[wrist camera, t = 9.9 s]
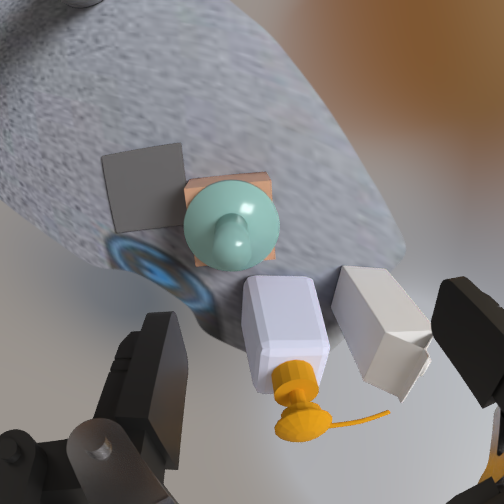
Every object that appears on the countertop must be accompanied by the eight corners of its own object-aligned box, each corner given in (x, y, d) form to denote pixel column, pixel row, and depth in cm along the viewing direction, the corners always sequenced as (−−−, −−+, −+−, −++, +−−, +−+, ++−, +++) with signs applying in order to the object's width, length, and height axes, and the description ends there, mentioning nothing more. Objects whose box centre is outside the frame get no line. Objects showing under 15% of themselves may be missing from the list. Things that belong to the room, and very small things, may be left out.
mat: (102, 155, 34) (101, 156, 34) (181, 142, 34) (180, 142, 34) (117, 231, 38) (116, 232, 38) (191, 223, 39) (191, 224, 38)
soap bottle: (330, 327, 47) (378, 447, 27) (240, 328, 46) (248, 462, 26) (343, 273, 43) (413, 392, 23) (243, 270, 42) (256, 408, 22)
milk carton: (329, 307, 45) (374, 407, 28) (341, 264, 43) (401, 358, 25) (371, 308, 46) (425, 399, 29) (385, 267, 43) (454, 352, 26)
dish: (189, 179, 36) (183, 188, 32) (266, 171, 37) (271, 180, 32) (199, 248, 40) (195, 266, 36) (270, 241, 40) (275, 259, 36)
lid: (178, 184, 32) (165, 203, 25) (275, 175, 32) (287, 192, 26) (192, 270, 36) (185, 305, 30) (280, 262, 36) (290, 296, 30)
